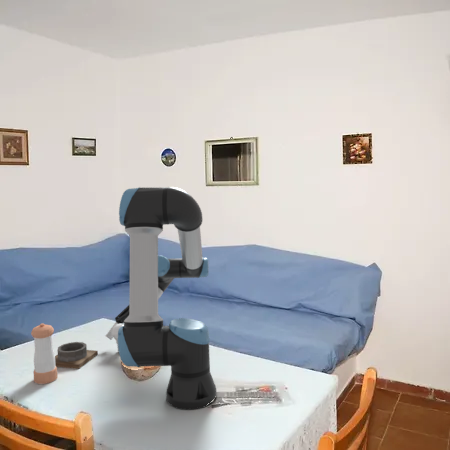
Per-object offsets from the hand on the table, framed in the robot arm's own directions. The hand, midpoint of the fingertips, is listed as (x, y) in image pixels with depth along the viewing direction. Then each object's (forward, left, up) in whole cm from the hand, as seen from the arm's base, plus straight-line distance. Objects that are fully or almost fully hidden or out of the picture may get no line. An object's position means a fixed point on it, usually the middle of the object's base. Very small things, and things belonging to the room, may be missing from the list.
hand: (114, 342), depth 172 cm
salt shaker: (-25, +12, -4) cm, 28 cm away
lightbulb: (+2, -2, -4) cm, 5 cm away
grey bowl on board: (-9, +12, -4) cm, 16 cm away
